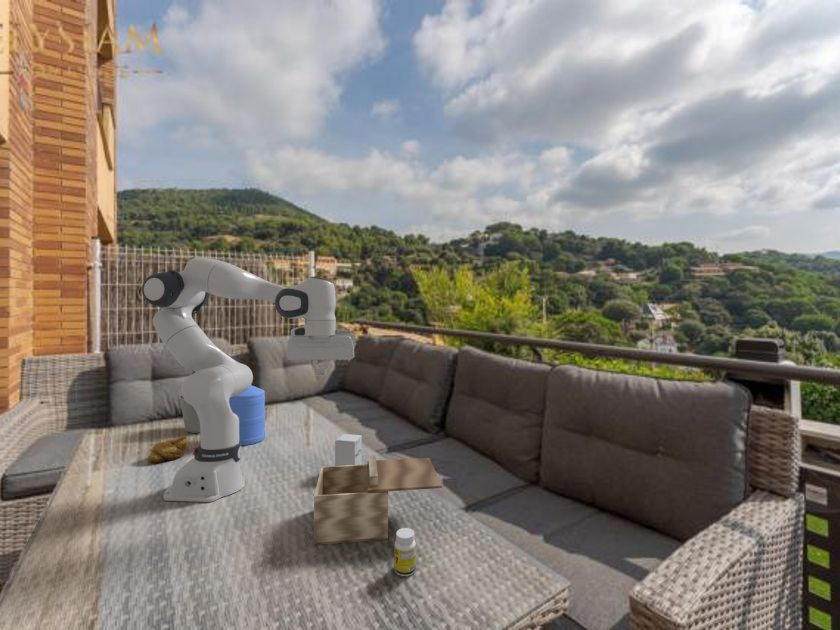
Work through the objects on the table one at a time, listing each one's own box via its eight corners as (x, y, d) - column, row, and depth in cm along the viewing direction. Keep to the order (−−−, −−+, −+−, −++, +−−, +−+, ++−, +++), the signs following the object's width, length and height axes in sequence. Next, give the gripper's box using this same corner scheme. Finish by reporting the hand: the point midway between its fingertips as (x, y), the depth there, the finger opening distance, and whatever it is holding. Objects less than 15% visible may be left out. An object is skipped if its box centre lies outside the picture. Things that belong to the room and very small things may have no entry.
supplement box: (354, 478, 134) (354, 441, 133) (334, 476, 135) (334, 440, 135) (362, 469, 141) (362, 434, 141) (342, 468, 142) (342, 433, 142)
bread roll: (151, 467, 142) (151, 445, 142) (142, 460, 148) (142, 439, 148) (190, 457, 152) (190, 436, 152) (180, 451, 158) (180, 431, 158)
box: (313, 545, 96) (314, 496, 96) (321, 507, 114) (321, 466, 114) (387, 539, 99) (388, 491, 99) (383, 503, 117) (384, 463, 117)
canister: (197, 423, 195) (197, 380, 194) (231, 425, 192) (231, 381, 192) (169, 435, 177) (169, 388, 176) (206, 437, 174) (206, 389, 174)
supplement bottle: (394, 563, 90) (394, 527, 90) (414, 562, 90) (415, 526, 90) (394, 578, 85) (394, 539, 85) (416, 577, 86) (416, 538, 85)
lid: (367, 492, 98) (367, 480, 98) (366, 462, 116) (366, 452, 116) (441, 488, 101) (441, 476, 100) (429, 459, 119) (429, 449, 119)
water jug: (272, 438, 173) (272, 374, 173) (239, 449, 160) (239, 380, 160) (250, 432, 182) (250, 371, 181) (217, 441, 169) (217, 376, 168)
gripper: (355, 329, 127) (355, 372, 127) (289, 329, 123) (289, 373, 124) (355, 330, 120) (355, 375, 121) (285, 330, 117) (285, 376, 118)
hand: (321, 374), depth 122 cm, fingers closed
